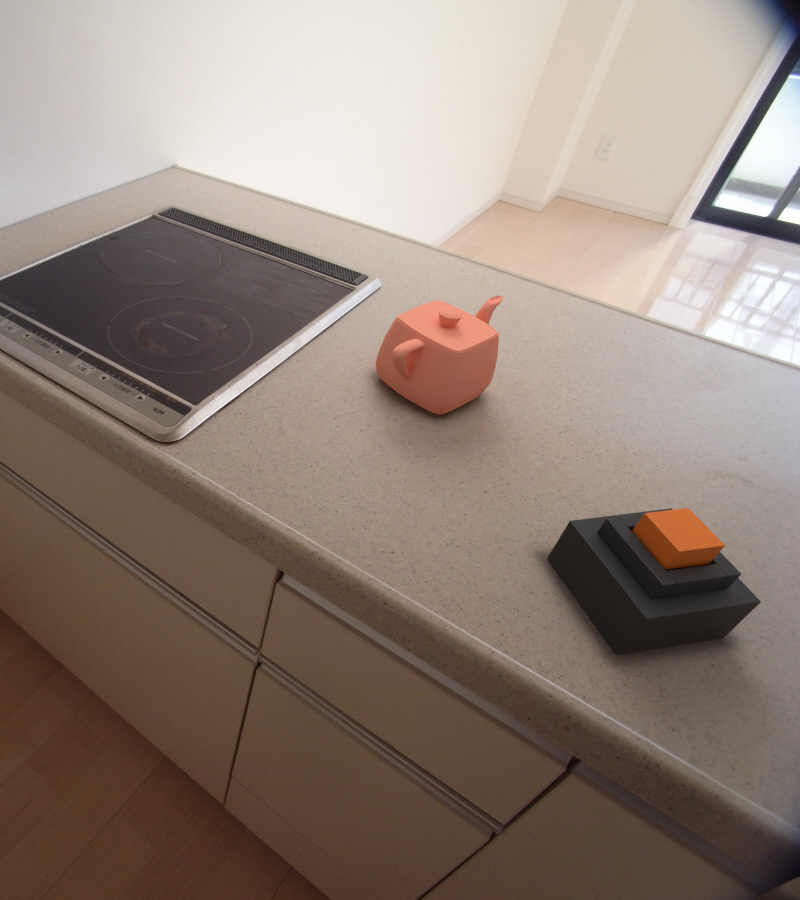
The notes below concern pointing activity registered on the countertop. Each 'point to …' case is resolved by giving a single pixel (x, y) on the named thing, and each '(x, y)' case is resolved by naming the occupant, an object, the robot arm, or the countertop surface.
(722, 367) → the countertop surface
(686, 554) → the key
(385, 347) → the teapot
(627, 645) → the push button box
